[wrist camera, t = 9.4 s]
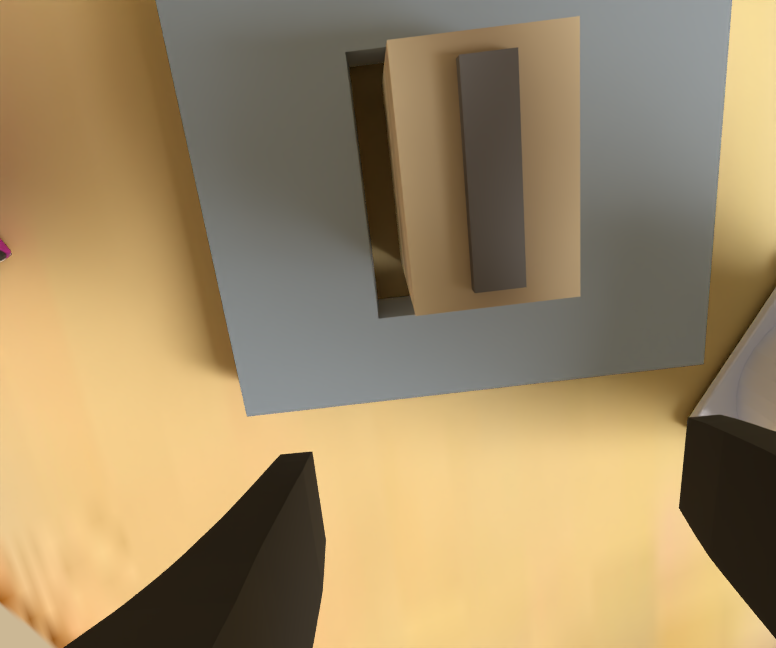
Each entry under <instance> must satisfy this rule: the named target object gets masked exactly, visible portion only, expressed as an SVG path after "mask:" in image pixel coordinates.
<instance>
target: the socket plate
mask: <svg viewBox="0 0 776 648" xmlns="http://www.w3.org/2000/svg"><path fill="white" fill-rule="evenodd" d="M155 1H156V5H157V10H158V14H159V19H160V23H161V28H162V32H163V37H164V42H165V46H166V51H167V55H168V60H169V64H170V69H171V73H172V78H173V82H174V87H175V92H176V96H177V101H178V105H179V110H180V114H181V119H182V123H183V128H184V132H185V137H186V142H187V146H188V151H189V155H190V160H191V164H192V169H193V173H194V178H195V183H196V187H197V192H198V196H199V201H200V205H201V210H202V214H203V219H204V223H205V228H206V233H207V237H208V242H209V246H210V251H211V255H212V260H213V264H214V269H215V273H216V278H217V283H218V287H219V292H220V296H221V301H222V305H223V310H224V314H225V319H226V323H227V328H228V333H229V337H230V342H231V346H232V351H233V355H234V360H235V364H236V369H237V373H238V378H239V383H240V387H241V392H242V396H243V401H244V405H245V410H246V414H247V417H248V416H256V415H265V414H274V413H283V412H291V411H300V410H309V409H317V408H326V407H335V406H344V405H352V404H361V403H370V402H378V401H387V400H396V399H405V398H413V397H422V396H431V395H439V394H448V393H457V392H466V391H474V390H483V389H492V388H500V387H509V386H518V385H527V384H535V383H544V382H553V381H562V380H570V379H579V378H588V377H596V376H605V375H614V374H623V373H631V372H640V371H649V370H657V369H666V368H675V367H684V366H692V365H701V364H704V353H705V340H706V327H707V315H708V302H709V289H710V276H711V263H712V251H713V238H714V225H715V212H716V199H717V187H718V174H719V161H720V148H721V135H722V123H723V110H724V97H725V84H726V71H727V59H728V46H729V33H730V20H731V7H732V0H155ZM576 16H580V297H572V298H563V299H555V300H547V301H538V302H530V303H521V304H513V305H505V306H496V307H488V308H479V309H471V310H463V311H454V312H446V313H437V314H429V315H420V316H415V312H414V308H413V304H412V301H411V297H410V296H403V297H395V298H386V299H378V295H377V287H376V279H375V271H374V263H373V255H372V247H371V239H370V230H369V222H368V214H367V206H366V198H365V190H364V182H363V174H362V166H361V158H360V150H359V142H358V134H357V126H356V118H355V110H354V102H353V93H352V85H351V77H350V69H349V67H355V66H363V65H371V64H379V63H384V61H385V52H386V43H387V40H391V39H399V38H407V37H415V36H423V35H431V34H439V33H447V32H455V31H463V30H471V29H479V28H487V27H495V26H503V25H511V24H519V23H527V22H535V21H543V20H551V19H560V18H568V17H576Z"/></svg>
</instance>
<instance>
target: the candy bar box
mask: <svg viewBox="0 0 776 648" xmlns="http://www.w3.org/2000/svg"><path fill="white" fill-rule="evenodd" d="M10 255H12V254H11V251H10V249H9V248H8V247H7V246H6V244H5V243H4V242H3V241H2V240H1V238H0V262H2V261H4V260H5V259H6V258H8V257H9V256H10Z"/></svg>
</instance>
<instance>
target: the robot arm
mask: <svg viewBox="0 0 776 648" xmlns="http://www.w3.org/2000/svg"><path fill="white" fill-rule="evenodd" d="M679 509H680V511H681V512H682V514H683V516H684V517H685V519H686V521H687V522H688V524H689V526H690V527H691V529H692V531H693V532H694V534H695V536H696V537H697V539H698V540H699V542H700V543H701V545H702V546H703V548H704V550H705V551H706V553H707V554H708V556H709V557H710V558H711V560H712V561H713V562H714V563H715V565H716V566H717V567H718V569H719V570H720V571H721V572H722V574H723V575H724V576H725V577H726V579H727V580H728V581H729V582H730V583H731V585H732V586H733V587H734V588H735V590H736V591H737V592H738V593H739V595H740V596H741V597H742V598H743V600H744V601H745V602H746V603H747V604H748V606H749V607H750V608H751V609H752V611H753V612H754V613H755V614H756V615H757V617H758V618H759V619H760V620H761V621H762V623H763V624H764V625H765V626H766V628H767V629H768V630H769V631H770V632H771V634H772V635H773V636H774V637H775V638H776V288H775V289H774V291H773V292H772V294H771V295H770V297H769V298H768V300H767V301H766V303H765V304H764V306H763V307H762V309H761V310H760V312H759V313H758V315H757V316H756V318H755V319H754V321H753V322H752V324H751V325H750V327H749V328H748V330H747V331H746V333H745V334H744V336H743V337H742V339H741V340H740V342H739V343H738V345H737V346H736V348H735V349H734V351H733V352H732V354H731V355H730V357H729V358H728V360H727V361H726V363H725V364H724V366H723V367H722V369H721V370H720V372H719V373H718V374H717V376H716V377H715V379H714V380H713V382H712V383H711V385H710V386H709V388H708V389H707V391H706V392H705V394H704V395H703V397H702V398H701V400H700V401H699V403H698V404H697V406H696V407H695V409H694V410H693V412H692V413H691V415H690V416H689V417H688V420H687V431H686V441H685V451H684V462H683V472H682V482H681V493H680V503H679ZM325 545H326V538H325V532H324V525H323V518H322V512H321V505H320V499H319V492H318V486H317V479H316V473H315V466H314V460H313V453H312V452H303V453H292V454H281V455H280V456H279V457H278V458H277V459H276V460H275V461H274V462H273V463H272V464H271V465H270V467H269V468H268V469H267V470H266V471H265V472H264V473H263V474H262V475H261V476H260V478H259V479H258V480H257V481H256V482H255V483H254V484H253V485H252V486H251V487H250V489H249V490H248V491H247V492H246V493H245V494H244V495H243V496H242V497H241V498H240V499H239V500H238V501H237V502H236V504H235V505H234V506H233V507H232V508H231V509H230V510H229V511H228V512H227V513H226V514H225V515H224V516H223V517H222V518H221V519H220V520H219V521H218V522H217V523H216V524H215V525H214V526H213V527H212V528H211V529H210V530H209V531H208V532H207V533H206V534H205V535H203V536H202V537H201V538H200V539H199V540H198V541H197V542H196V543H195V544H194V545H193V546H192V547H191V548H190V549H189V550H188V551H187V552H186V553H185V554H184V555H183V556H182V557H180V558H179V559H178V560H177V561H176V562H175V563H174V564H172V565H171V566H170V567H169V568H168V569H167V570H166V571H164V572H163V573H162V574H161V575H160V576H159V577H157V578H156V579H155V580H154V581H152V582H151V583H150V584H149V585H147V586H146V587H145V588H144V589H143V590H141V591H140V592H139V593H138V594H136V595H135V596H134V597H133V598H131V599H130V600H129V601H128V602H126V603H125V604H124V605H122V606H121V607H120V608H118V609H117V610H116V611H115V612H113V613H112V614H110V615H109V616H108V617H106V618H105V619H103V620H102V621H100V622H99V623H98V624H96V625H95V626H93V627H92V628H91V629H89V630H88V631H86V632H85V633H84V634H82V635H81V636H79V637H78V638H76V639H75V640H74V641H72V642H71V643H69V644H68V645H67V646H65V647H64V648H313V643H314V637H315V632H316V626H317V620H318V615H319V609H320V603H321V598H322V592H323V578H324V563H325Z"/></svg>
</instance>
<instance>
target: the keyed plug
mask: <svg viewBox="0 0 776 648" xmlns="http://www.w3.org/2000/svg"><path fill="white" fill-rule="evenodd" d="M382 93H383V102H384V111H385V120H386V129H387V138H388V147H389V156H390V165H391V175H392V184H393V193H394V202H395V211H396V220H397V229H398V238H399V247H400V257H401V263H402V267H403V271H404V275H405V278H406V282H407V286H408V290H409V293H410V297H411V301H412V304H413V308H414V312H415V316H420V315H429V314H437V313H446V312H454V311H463V310H471V309H479V308H488V307H496V306H505V305H513V304H521V303H530V302H538V301H547V300H555V299H563V298H572V297H580V16H576V17H568V18H560V19H551V20H543V21H535V22H527V23H519V24H511V25H503V26H495V27H487V28H479V29H471V30H463V31H455V32H447V33H439V34H431V35H423V36H415V37H407V38H399V39H391V40H387V43H386V52H385V61H384V70H383V80H382Z"/></svg>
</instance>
